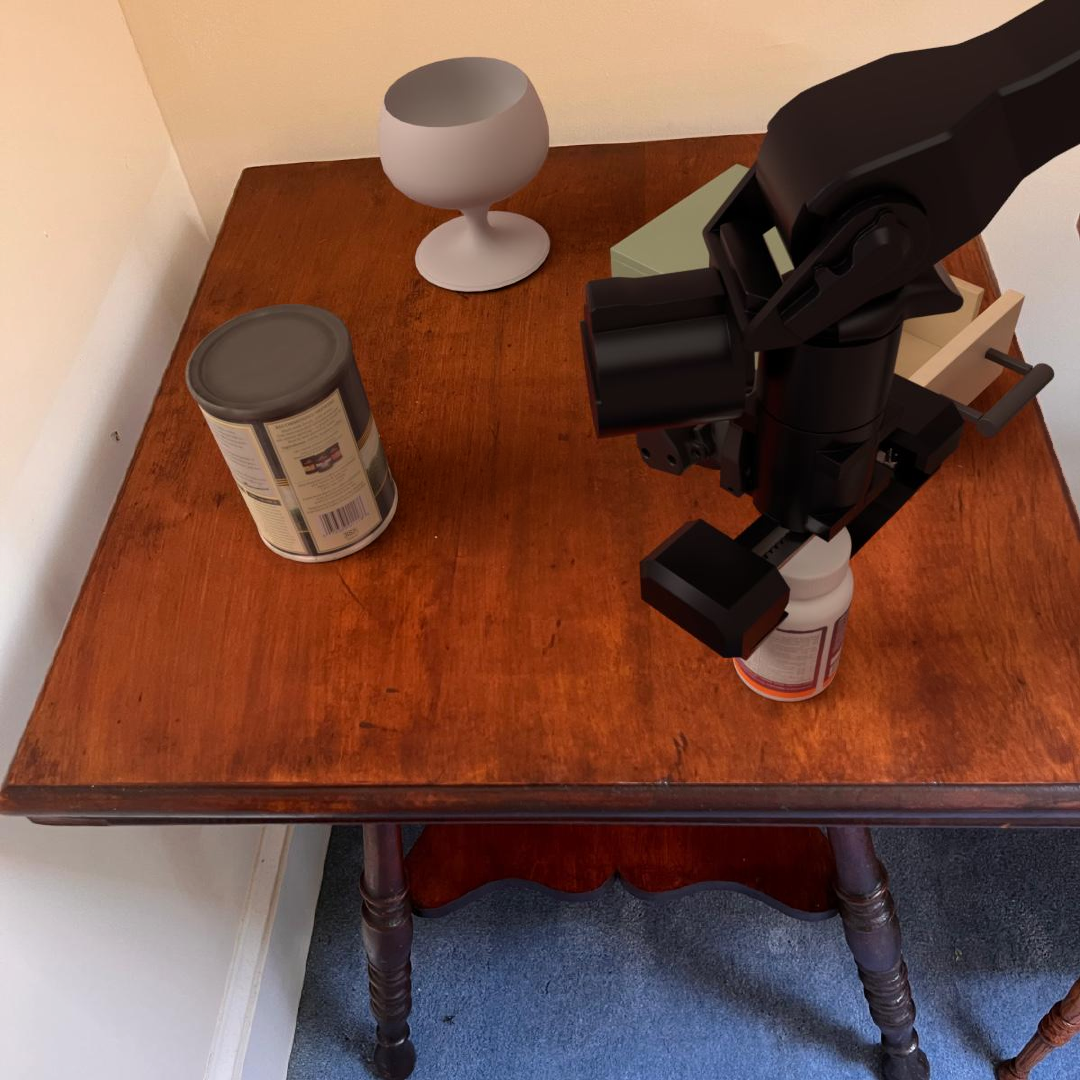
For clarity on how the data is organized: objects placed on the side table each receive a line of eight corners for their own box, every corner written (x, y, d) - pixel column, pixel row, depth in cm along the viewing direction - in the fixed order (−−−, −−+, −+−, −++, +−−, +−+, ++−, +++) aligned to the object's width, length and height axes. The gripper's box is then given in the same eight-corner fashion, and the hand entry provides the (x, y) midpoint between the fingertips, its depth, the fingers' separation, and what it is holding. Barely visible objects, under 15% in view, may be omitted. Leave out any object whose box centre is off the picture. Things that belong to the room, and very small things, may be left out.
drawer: (1061, 400, 72) (1090, 321, 67) (954, 507, 67) (977, 431, 62) (844, 302, 82) (855, 226, 76) (735, 389, 76) (738, 314, 71)
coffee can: (319, 441, 79) (262, 286, 68) (426, 485, 74) (384, 328, 64) (226, 532, 73) (149, 379, 63) (335, 585, 69) (273, 432, 58)
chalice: (591, 234, 93) (578, 68, 82) (497, 320, 86) (470, 152, 75) (470, 196, 99) (443, 37, 88) (374, 273, 92) (331, 112, 81)
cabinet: (879, 322, 81) (896, 225, 74) (761, 420, 75) (769, 325, 69) (732, 255, 89) (736, 163, 82) (615, 340, 83) (609, 248, 76)
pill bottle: (797, 605, 64) (815, 478, 56) (859, 678, 60) (888, 554, 52) (711, 646, 63) (716, 522, 54) (769, 723, 59) (784, 603, 51)
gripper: (801, 230, 53) (780, 446, 65) (543, 421, 46) (571, 626, 58) (1000, 312, 48) (937, 534, 59) (741, 547, 40) (728, 746, 52)
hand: (793, 602), depth 57 cm, fingers open, 9 cm apart
